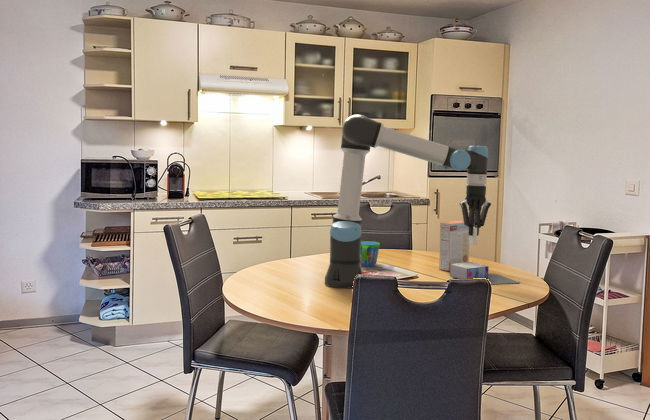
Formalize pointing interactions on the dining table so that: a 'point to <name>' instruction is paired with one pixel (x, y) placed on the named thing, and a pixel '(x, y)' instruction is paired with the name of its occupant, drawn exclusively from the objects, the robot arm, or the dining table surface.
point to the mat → (500, 279)
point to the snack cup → (369, 253)
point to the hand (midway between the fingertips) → (472, 243)
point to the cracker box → (453, 244)
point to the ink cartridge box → (468, 270)
